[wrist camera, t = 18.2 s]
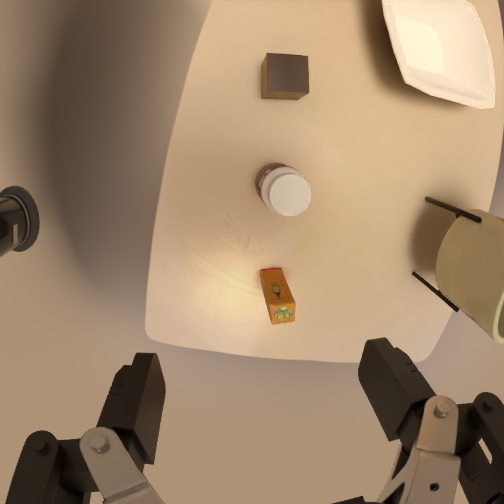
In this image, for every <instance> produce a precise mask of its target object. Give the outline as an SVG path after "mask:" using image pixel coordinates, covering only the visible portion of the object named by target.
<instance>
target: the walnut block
mask: <svg viewBox="0 0 504 504" xmlns="http://www.w3.org/2000/svg"><path fill="white" fill-rule="evenodd" d="M261 92H262V99H288V100H298V99H300V98H301V97H303V96H305V95H306V94H308V93H309V71H308V56H302V55H290V54H275V53H267V54H266V56H265V58H264V61H263V63H262V65H261Z"/></svg>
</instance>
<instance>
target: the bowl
mask: <svg viewBox="0 0 504 504" xmlns="http://www.w3.org/2000/svg"><path fill="white" fill-rule="evenodd" d="M381 1H382V8H383V15H384V19H385V22H386V25H387V29H388V33H389V36H390V40H391V44H392V48H393V52H394V54H395V57H396V60H397V63H398V65H399V68H400V71H401V74H402V77H403V80H404V82H405V83H406V84H408V85H410V86H413V87H415V88H417V89H419V90H420V91H422V92H424V93H426V94H428V95H430V96H435V97H438V98H442V99H446V100H449V101H453V102H456V103H460V104H464V105H468V106H471V107H475V108H478V109H485V108H494V106H495V78H494V69H493V62H492V55H491V52H490V48H489V44H488V41H487V37H486V34H485V31H484V28H483V25H482V23H481V21H480V19H479V16H478V14H477V12H476V10H475V8H474V6H473V5H472V4H470V3H469V2H468V1H467V0H381Z"/></svg>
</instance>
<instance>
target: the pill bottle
mask: <svg viewBox="0 0 504 504" xmlns="http://www.w3.org/2000/svg"><path fill="white" fill-rule="evenodd" d="M256 189H257V192H258V194H259V196H260V197H261V199H262V200H263V202H264V203H265V205H266V206H267V207H268V208H269V209H270V210H272V211H273V212H275V213H278V214H281V215H284V216H296V215H299V214H301V213H302V212H304V211H305V210H306V209H307V207H308V206H309V204H310V202H311V196H312V194H311V188H310V186H309V184H308V182H307V180H306V178H305V177H304V176H303V174H302V173H300V172H299V171H298V170H296V169H294V168H291V167H289V166H286V165H283V164H279V163H274V164H269V165H267V166H265V167H264V168H263V169H262V170H261V171H260V172H259V173H258V175H257V178H256Z"/></svg>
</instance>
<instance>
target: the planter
mask: <svg viewBox="0 0 504 504" xmlns="http://www.w3.org/2000/svg"><path fill="white" fill-rule="evenodd" d="M425 200H426V202H429V203H432V204H434V205H437V206H439V207H442V208H444V209H447V210H449V211H452V212H454V213H455V214H456V220H455V222H454V223H453V224H452V225H451V227H450V228H449V230H448V231H447V233H446V235H445V237H444V239H443V241H442V243H441V246H440V249H439V252H438V256H437V261H436V282H437V285H438V288H439V290H436V289H435V288H434V287H433V286H432V285H430V284H429V283H428V282H427V281H425V280H424V279H423V278H422V277H420V276H419V275H418V274H417V273H415V272H413V273H412V275H413V276H415V277H416V278H417V279H418V280H419V281H421V282H422V283H423V284H424V285H426V286H427V287H428V288H429V289H430V290H431V291H433V292H434V293H435V294H436V295H437V296H439V297H440V298H441V299H442V300H443V301H444V302H445V303H447V304H448V305H449V306H450V307H451V308H452V309H453V310H455V311H456V312H458V310H459V309H460V310H462V311H463V312H464V313H465V314H466V315H467V316H468V317H470V318H471V319H472V320H473V321H474V322H475V323H476V324H477V325H479V326H480V327H481V328H482V329H483V330H484V331H485V332H486V333H487V334H488V335H489V336H490V337H491V338H492V339H493V340H495V341H496V342H497V343H499V344H504V219H502V218H500V217H497V216H495V215H492V214H490V213H488V212H485V211H482V210H479V209H473V210H469V211H467V212H466V211H464V210H461V209H459V208H456V207H454V206H451V205H448V204H446V203H443V202H440V201H438V200H435V199H432V198H429V197H426V198H425ZM442 294H443V295H442ZM447 298H448V299H449V300H448V299H447ZM453 303H454V304H455V305H456V306H455V305H454V304H453Z"/></svg>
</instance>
